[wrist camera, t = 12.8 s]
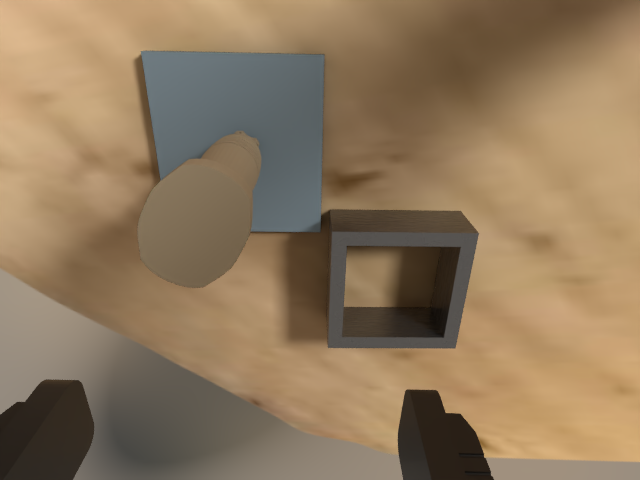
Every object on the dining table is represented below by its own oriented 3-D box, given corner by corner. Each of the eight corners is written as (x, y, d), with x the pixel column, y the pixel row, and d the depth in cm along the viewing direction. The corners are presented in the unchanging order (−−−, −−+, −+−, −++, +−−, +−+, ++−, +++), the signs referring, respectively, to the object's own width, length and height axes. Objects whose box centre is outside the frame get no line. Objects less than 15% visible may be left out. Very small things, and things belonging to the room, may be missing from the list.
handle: (197, 170, 34) (121, 260, 21) (230, 97, 32) (169, 145, 18) (251, 198, 35) (213, 301, 22) (288, 129, 33) (270, 198, 19)
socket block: (329, 209, 37) (332, 231, 33) (460, 211, 37) (478, 233, 33) (326, 317, 42) (327, 347, 38) (441, 317, 42) (455, 348, 38)
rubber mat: (145, 50, 31) (140, 51, 30) (324, 54, 31) (324, 55, 30) (171, 225, 37) (168, 230, 36) (320, 227, 38) (320, 232, 37)
